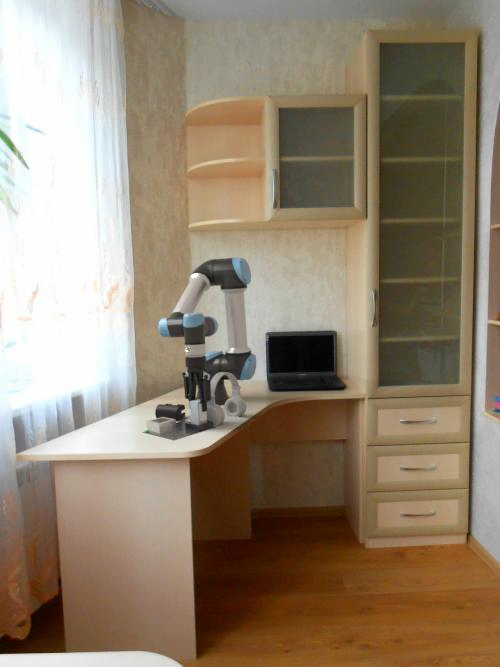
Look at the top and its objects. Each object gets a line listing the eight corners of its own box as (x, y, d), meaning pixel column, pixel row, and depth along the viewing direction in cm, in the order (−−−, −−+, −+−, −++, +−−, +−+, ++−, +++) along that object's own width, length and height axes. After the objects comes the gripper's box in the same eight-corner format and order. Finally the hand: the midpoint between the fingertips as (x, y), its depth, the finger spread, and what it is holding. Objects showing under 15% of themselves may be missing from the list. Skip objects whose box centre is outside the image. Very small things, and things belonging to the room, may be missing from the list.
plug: (199, 425, 191) (198, 399, 190) (207, 427, 188) (205, 400, 188) (191, 428, 188) (190, 401, 187) (198, 429, 186) (197, 402, 185)
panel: (184, 422, 200) (183, 410, 200) (216, 429, 188) (216, 416, 188) (142, 434, 185) (141, 421, 185) (174, 443, 173) (173, 428, 173)
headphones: (230, 415, 210) (228, 368, 209) (247, 416, 206) (245, 369, 204) (200, 427, 193) (198, 376, 192) (219, 429, 189) (216, 377, 187)
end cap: (155, 422, 203) (154, 406, 202) (165, 418, 209) (164, 402, 209) (177, 424, 199) (176, 407, 198) (186, 419, 205) (185, 403, 205)
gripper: (172, 355, 189) (175, 418, 191) (203, 358, 178) (207, 424, 180) (187, 353, 195) (191, 414, 197) (219, 355, 183) (222, 420, 185)
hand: (198, 419), depth 188 cm, fingers closed on plug, 4 cm apart
